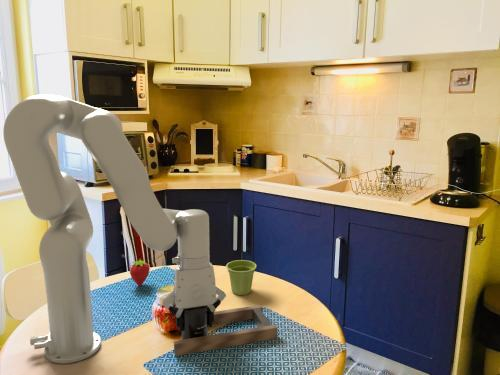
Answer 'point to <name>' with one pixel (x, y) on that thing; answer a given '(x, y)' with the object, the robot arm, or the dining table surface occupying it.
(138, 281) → the strawberry
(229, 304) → the dining table surface
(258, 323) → the channel
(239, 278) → the plant pot
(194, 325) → the supplement bottle
